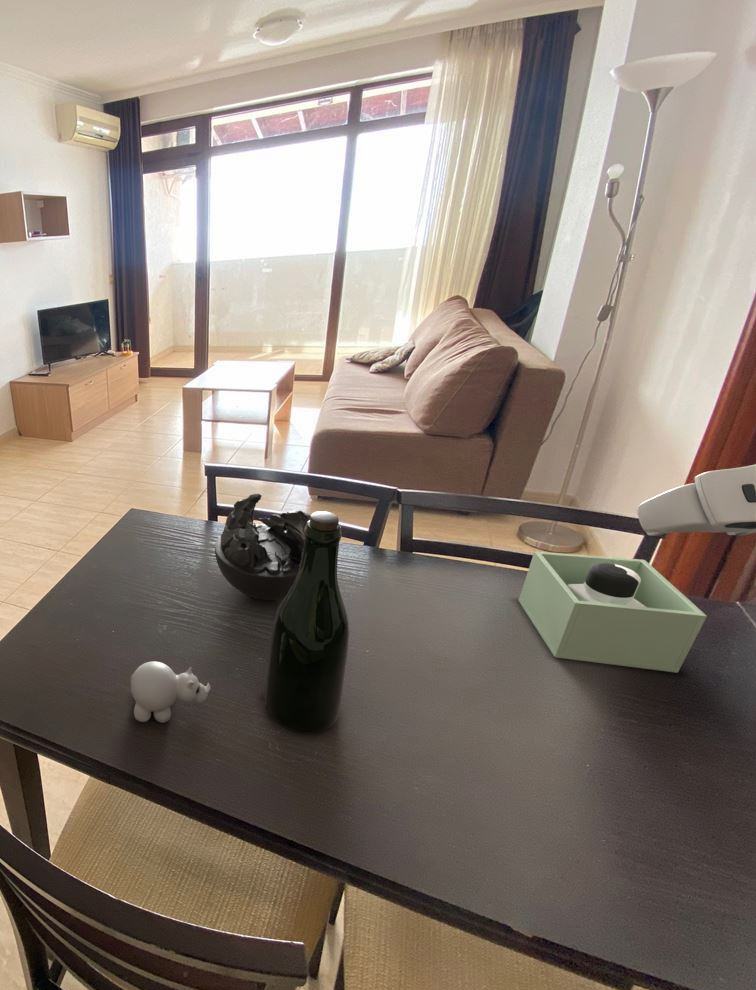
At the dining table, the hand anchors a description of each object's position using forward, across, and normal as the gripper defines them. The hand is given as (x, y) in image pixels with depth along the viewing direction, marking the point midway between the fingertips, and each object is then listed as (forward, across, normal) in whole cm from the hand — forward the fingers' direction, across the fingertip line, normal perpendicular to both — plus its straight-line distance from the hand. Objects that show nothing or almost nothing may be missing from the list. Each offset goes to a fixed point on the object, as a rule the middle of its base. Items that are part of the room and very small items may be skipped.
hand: (691, 530), depth 73 cm
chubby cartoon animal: (+8, +71, +27) cm, 76 cm away
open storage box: (+23, 0, +12) cm, 26 cm away
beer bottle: (+10, +51, +25) cm, 58 cm away
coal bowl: (+31, +52, +4) cm, 61 cm away
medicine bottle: (+23, 0, +11) cm, 25 cm away
